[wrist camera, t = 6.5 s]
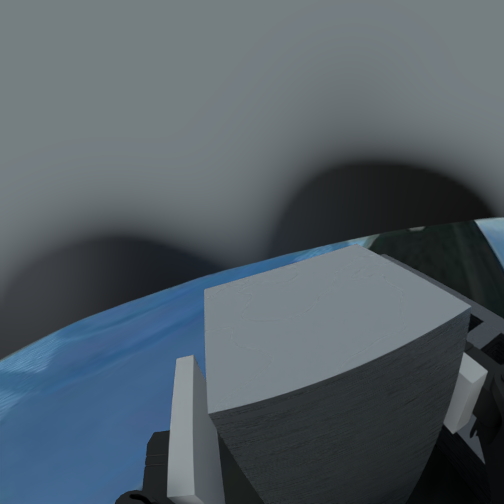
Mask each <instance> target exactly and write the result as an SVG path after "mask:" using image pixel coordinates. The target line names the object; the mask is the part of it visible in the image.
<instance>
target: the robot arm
mask: <svg viewBox="0 0 504 504" xmlns="http://www.w3.org/2000/svg"><path fill="white" fill-rule="evenodd" d="M472 414H473V415H474V416H475V417H476V420H475V422H474V425H473V427H472V429H471V431H470V438H472V437H473V435H474V433H475V432H476V431H477V432H476V436H478V438H479V441H480V445H481V449H482V453H483V457H484V461H485V466H486V470H487V475H488V480H489V485H490V491H491V497H492V504H504V364H503V365H500V364H498V363H497V362H496V361H494V360H493V359H492V358H490V357H489V356H488V355H486V354H485V353H484V352H482V351H481V350H480V349H478V348H477V347H476V346H475V347H474V345H473V344H472V343H470V342H469V341H468V342H467V340H466V343H465V348H464V353H463V357H462V362H461V366H460V370H459V374H458V378H457V381H456V385H455V389H454V392H453V395H452V399H451V402H450V405H449V408H448V411H447V414H446V417H445V420H444V422H443V423H444V425H445V426H446V427H447V428H448V429H449V430H450V431H451V433H452V434H454V433H455V432H457V431H458V430H459V429H461V428H462V427H463V426H465V425H466V424H467V423H468V422H469V419H470V417H471V415H472ZM146 456H147V457H146V461H145V465H146V467H145V470H144V479H143V490H142V491H138V490H133V491H128V492H126V493H124V494H122V495H121V496H120V497H119V498H118V499H117V500H116V502H115V504H225V497H224V489H223V481H222V473H221V464H220V455H219V446H218V436H217V429H216V427H215V425H214V424H213V422H212V420H211V418H210V417H209V415H208V406H207V386H206V381H205V379H204V376H203V374H202V372H201V370H200V368H199V366H198V363H197V361H196V359H195V357H194V355H191V356H187V357H182V358H178V359H177V361H176V370H175V380H174V390H173V401H172V412H171V425H170V430H169V431H162V432H154V433H153V435H152V437H151V439H150V440H149V442H148V444H147V452H146Z"/></svg>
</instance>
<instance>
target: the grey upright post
mask: <svg viewBox="0 0 504 504" xmlns="http://www.w3.org/2000/svg"><path fill="white" fill-rule="evenodd" d="M204 312H205V359H206V386H207V406H208V415H209V417H210V418H211V420H212V422H213V424H214V425H215V427H216V429H217V431H218V432H219V434H220V436H221V437H222V439H223V441H224V442H225V444H226V446H227V447H228V449H229V451H230V452H231V454H232V455H233V457H234V459H235V460H236V462H237V463H238V465H239V466H240V468H241V469H242V471H243V472H244V474H245V475H246V477H247V478H248V480H249V481H250V483H251V484H252V486H253V487H254V489H255V490H256V491H257V493H258V494H259V496H260V497H261V499H262V500H263V501H264V503H265V504H405V503H406V502H407V500H408V498H409V496H410V495H411V493H412V491H413V489H414V487H415V485H416V484H417V482H418V480H419V478H420V476H421V474H422V472H423V470H424V468H425V466H426V463H427V461H428V459H429V457H430V455H431V452H432V450H433V448H434V445H435V443H436V441H437V438H438V436H439V433H440V430H441V428H442V425H443V422H444V420H445V417H446V414H447V411H448V408H449V405H450V402H451V399H452V395H453V392H454V389H455V385H456V381H457V378H458V374H459V370H460V366H461V362H462V357H463V353H464V348H465V343H466V338H467V332H468V327H469V320H470V314H471V306H470V305H469V304H467V303H465V302H464V301H462V300H460V299H458V298H457V297H455V296H453V295H451V294H450V293H448V292H446V291H444V290H443V289H441V288H439V287H437V286H436V285H434V284H432V283H430V282H428V281H427V280H425V279H423V278H421V277H419V276H417V275H416V274H414V273H412V272H410V271H408V270H406V269H404V268H403V267H401V266H399V265H397V264H395V263H393V262H391V261H389V260H387V259H385V258H383V257H382V256H380V255H378V254H376V253H374V252H372V251H370V250H368V249H366V248H364V247H362V246H360V245H358V244H354V245H351V246H348V247H345V248H342V249H339V250H335V251H332V252H329V253H326V254H323V255H319V256H316V257H313V258H310V259H306V260H303V261H300V262H296V263H293V264H290V265H286V266H283V267H280V268H276V269H273V270H270V271H266V272H263V273H260V274H256V275H253V276H249V277H246V278H243V279H239V280H236V281H232V282H229V283H225V284H222V285H218V286H215V287H211V288H208V289H204Z"/></svg>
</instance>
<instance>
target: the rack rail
mask: <svg viewBox="0 0 504 504" xmlns="http://www.w3.org/2000/svg"><path fill="white" fill-rule="evenodd" d="M380 256H382V257H383V258H385V259H387V260H389V261H391V262H393V263H395V264H397V265H399V266H401V267H403V268H404V269H406V270H408V271H410V272H412V273H414V274H416V275H417V276H419V277H421V278H423V279H425V280H427V281H428V282H430V283H432V284H434V285H436V286H437V287H439V288H441V289H443V290H444V291H446V292H448V293H450V294H451V295H453V296H455V297H457V298H458V299H460V300H462V301H464V302H465V303H467V304H469V305H470V306H471V314H470V320H469V327H468V332H467V338H466V340H467V342H468V341H469V342H470V343H472V344H473V345H474V347H475V346H476V347H477V348H478V349H480V350H481V351H482V352H484V353H485V354H486V355H488V356H489V357H490V358H492V359H493V360H494V361H496V362H497V363H498V364H500V365H503V364H504V319H503V318H501V317H499V316H498V315H496V314H494V313H493V312H491V311H489V310H488V309H486V308H484V307H483V306H481V305H479V304H477V303H476V302H474V301H472V300H470V299H469V298H467V297H465V296H463V295H461V294H460V293H458V292H456V291H454V290H452V289H451V288H449V287H447V286H445V285H443V284H442V283H440V282H438V281H436V280H434V279H432V278H430V277H428V276H427V275H425V274H423V273H421V272H419V271H417V270H415V269H413V268H411V267H409V266H407V265H405V264H403V263H401V262H400V261H398V260H396V259H394V258H392V257H390V256H388V255H386V254H383V255H380ZM475 420H476V417H475V416H474V415H473V414H472V415H471V417H470V419H469V422H468V423H467V424H466V425H465V426H463V427H462V428H461V429H459V430H458V431H457V432H455V433H454V434H452V433H451V431H450V430H449V429H448V428H447V427H446V426H445V425H444V423H443V425H442V428H441V430H440V433H439V436H438V438H437V441H436V443H435V444H436V445H437V447H438V448H439V449H440V450H441V452H442V453H443V454H444V455H445V457H446V458H447V459H448V460H449V462H450V463H451V464H452V466H453V467H454V468H455V469H456V471H457V472H458V473H459V474H460V476H461V477H462V478H463V480H464V481H465V482H466V484H467V485H468V486H469V487H470V489H471V490H472V491H473V493H474V494H475V495H476V497H477V498H478V499H479V500H480V502H481V503H482V504H488V503H489V502H490V501H491V500H492V497H491V491H490V485H489V480H488V475H487V470H486V466H485V461H484V457H483V453H482V449H481V445H480V441H479V438H478V436H476V432H477V431H476V432H475V433H474V435H473V437H472V438H470V431H471V429H472V427H473V425H474V422H475Z"/></svg>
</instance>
